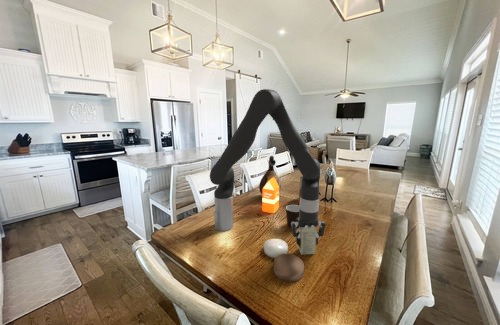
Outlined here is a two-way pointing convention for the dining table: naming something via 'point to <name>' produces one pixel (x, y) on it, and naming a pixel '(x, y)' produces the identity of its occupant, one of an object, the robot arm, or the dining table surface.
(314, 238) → the skincare box
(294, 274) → the pinkish brown pedestal
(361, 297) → the dining table surface
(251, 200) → the dining table surface
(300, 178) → the coffee box
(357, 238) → the dining table surface
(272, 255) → the white rounded piece
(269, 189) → the orange juice
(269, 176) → the ceramic jug
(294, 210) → the coffee mug
